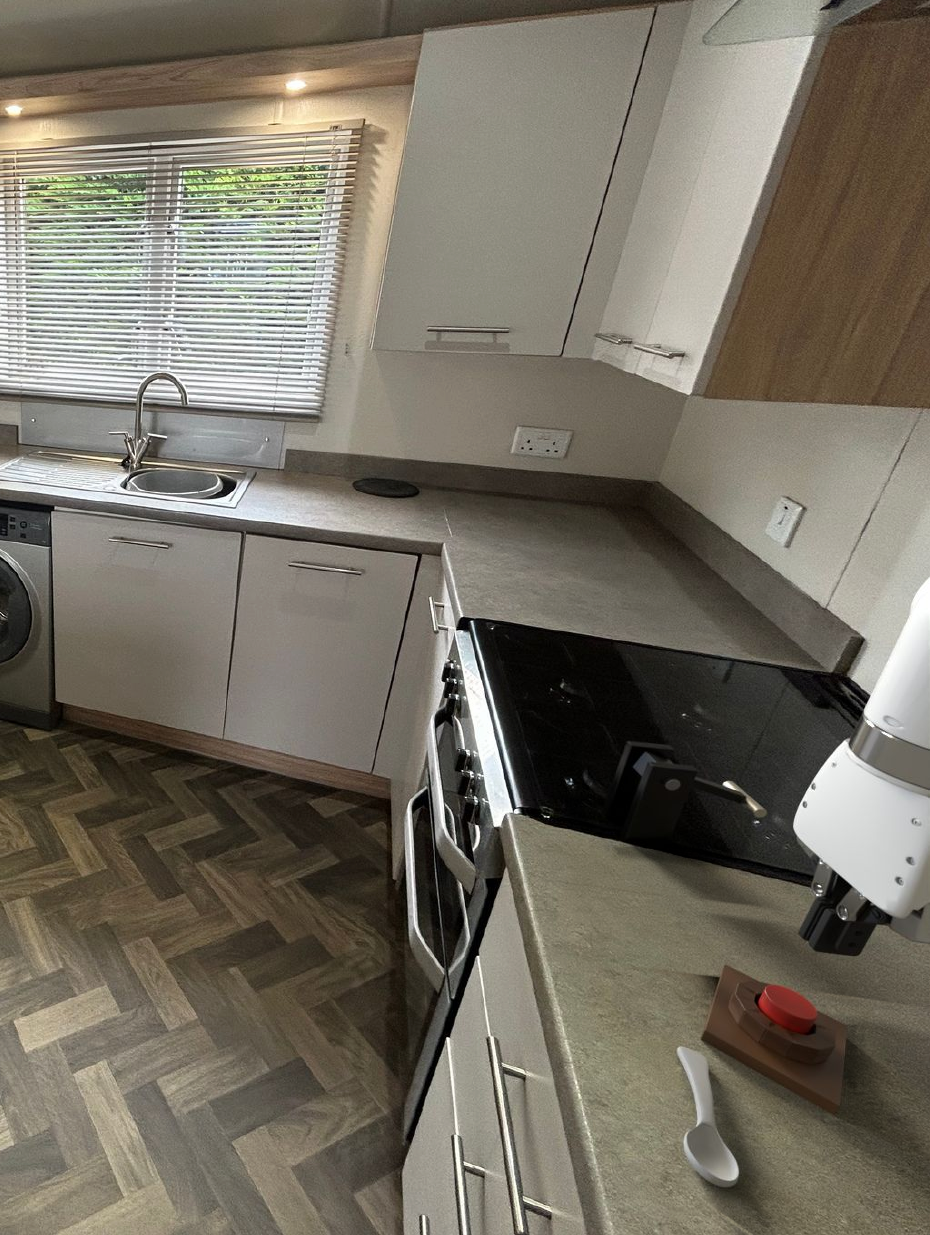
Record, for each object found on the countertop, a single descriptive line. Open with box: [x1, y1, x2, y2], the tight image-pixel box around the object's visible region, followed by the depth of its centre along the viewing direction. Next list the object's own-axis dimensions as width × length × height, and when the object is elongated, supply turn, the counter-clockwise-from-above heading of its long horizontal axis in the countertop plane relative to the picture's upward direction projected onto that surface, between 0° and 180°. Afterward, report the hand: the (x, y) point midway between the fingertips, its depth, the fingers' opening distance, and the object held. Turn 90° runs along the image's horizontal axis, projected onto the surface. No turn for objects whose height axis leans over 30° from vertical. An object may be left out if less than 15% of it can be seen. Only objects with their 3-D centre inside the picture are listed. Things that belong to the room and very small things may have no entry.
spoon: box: [676, 1045, 740, 1188], centre depth 54 cm, size 3×12×2 cm, turn 145°
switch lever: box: [633, 751, 768, 819], centre depth 79 cm, size 12×5×2 cm, turn 80°
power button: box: [758, 984, 818, 1034], centre depth 59 cm, size 3×3×2 cm
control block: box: [700, 963, 848, 1116], centre depth 60 cm, size 10×8×3 cm
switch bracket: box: [600, 740, 699, 847], centre depth 81 cm, size 11×9×12 cm
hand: (827, 945), depth 56 cm, fingers closed
